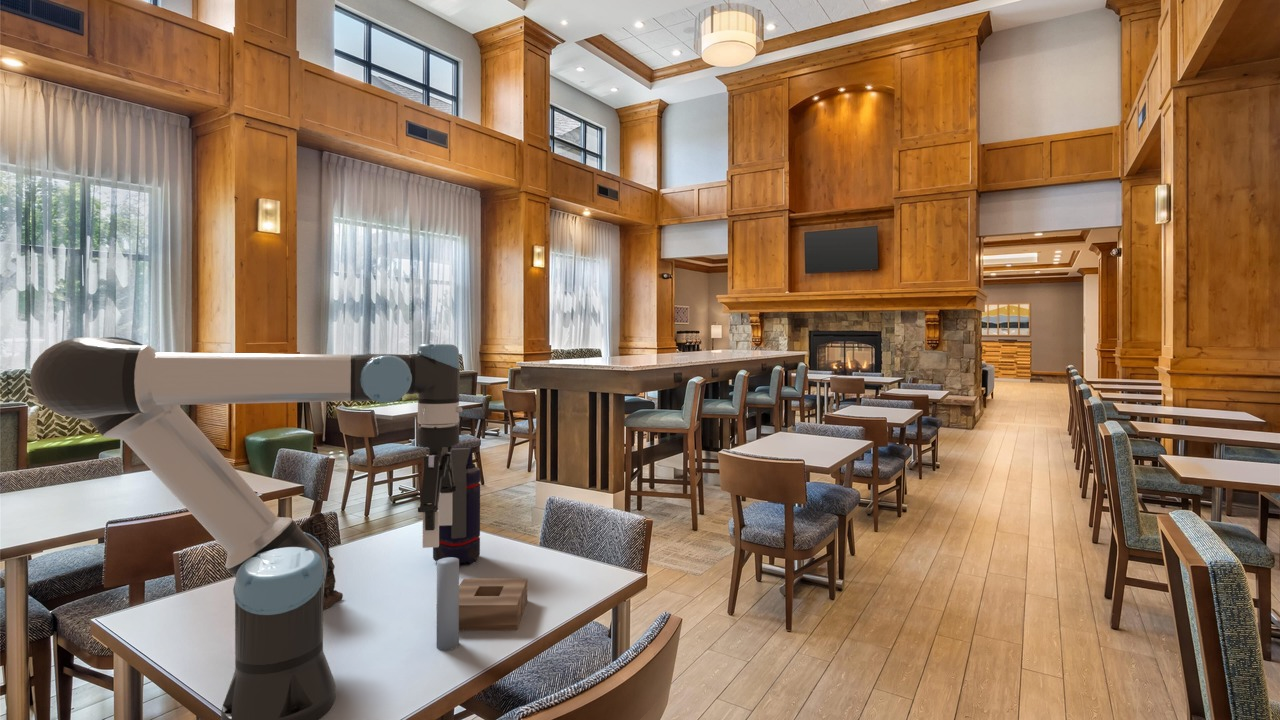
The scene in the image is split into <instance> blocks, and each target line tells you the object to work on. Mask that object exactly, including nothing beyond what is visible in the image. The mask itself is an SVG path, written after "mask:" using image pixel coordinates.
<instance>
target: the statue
mask: <svg viewBox="0 0 1280 720" xmlns="http://www.w3.org/2000/svg"><path fill="white" fill-rule="evenodd" d="M298 526H299V528H300V529H301V530H302V531H303V532H305V533H308V534H310V535H312V536H313V537H315V538H316V539H317V540H318V541H319V542H320V543H321V545H322V546H323V548H324V550H325V552H326V553H325V554H326V555H327V562H328V567H327V574H326V579H325V585H324V594H323V611H324V610H325V609H328V608H330V607H331V606H333V605H334V604H336V603H338V602H339V601H341V600H342V599H343V596H344V595H343V593H342V592H339V591H338V590H336V589H335V585H336V577H335V574H334V573H335V572H334V571H335V564H334V562H333V560H334V558H333V557H332V556H331V554H330V541H329V538H330V532H329V528H328V522H327V520H326V518H325V515H324V513H322V512H314V513H313V514H311V516H309V517H308V518H307V519H305V520H304V521H303V522H302V523H300V525H298Z"/></svg>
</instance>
